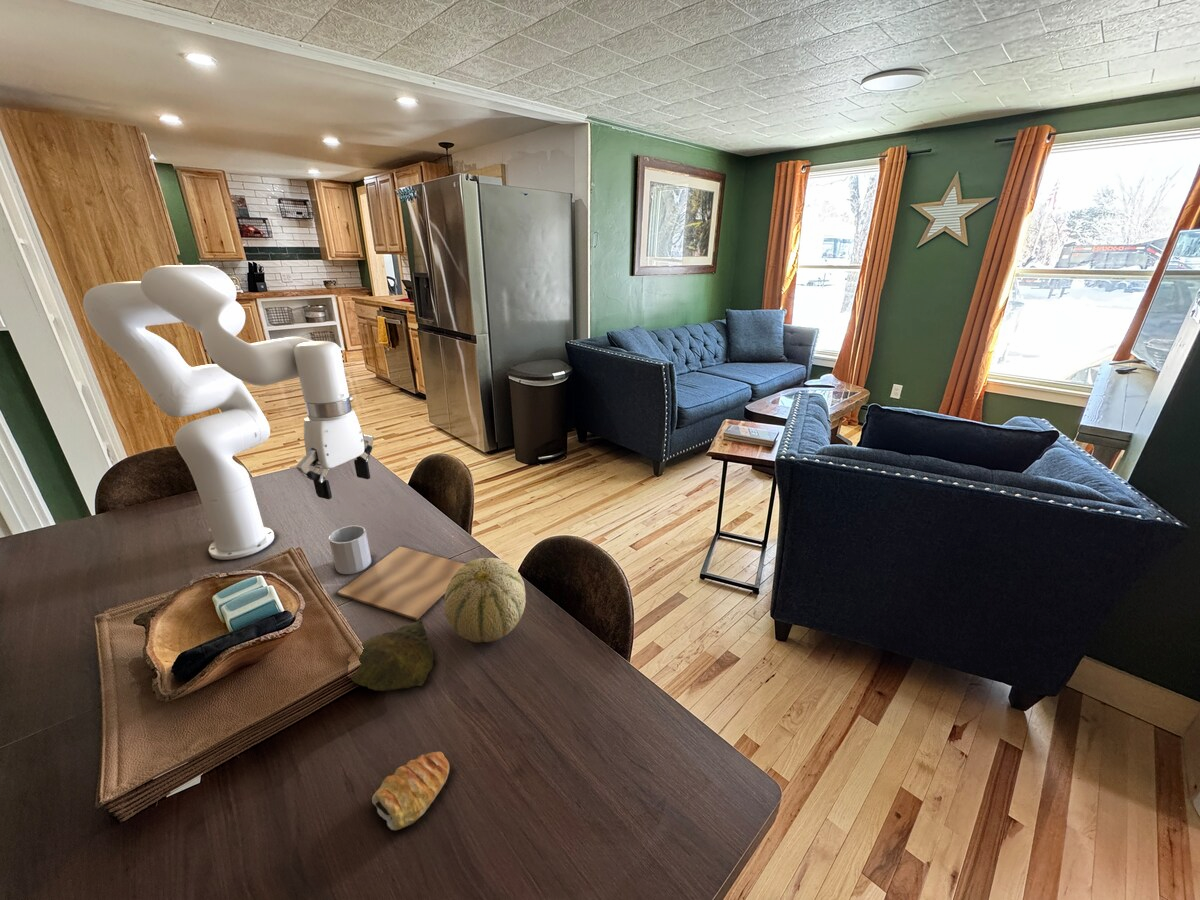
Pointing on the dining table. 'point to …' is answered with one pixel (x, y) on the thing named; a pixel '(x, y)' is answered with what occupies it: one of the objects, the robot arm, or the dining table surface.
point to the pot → (350, 549)
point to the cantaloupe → (485, 600)
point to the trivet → (403, 582)
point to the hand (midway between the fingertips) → (345, 487)
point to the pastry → (411, 790)
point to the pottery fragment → (395, 659)
